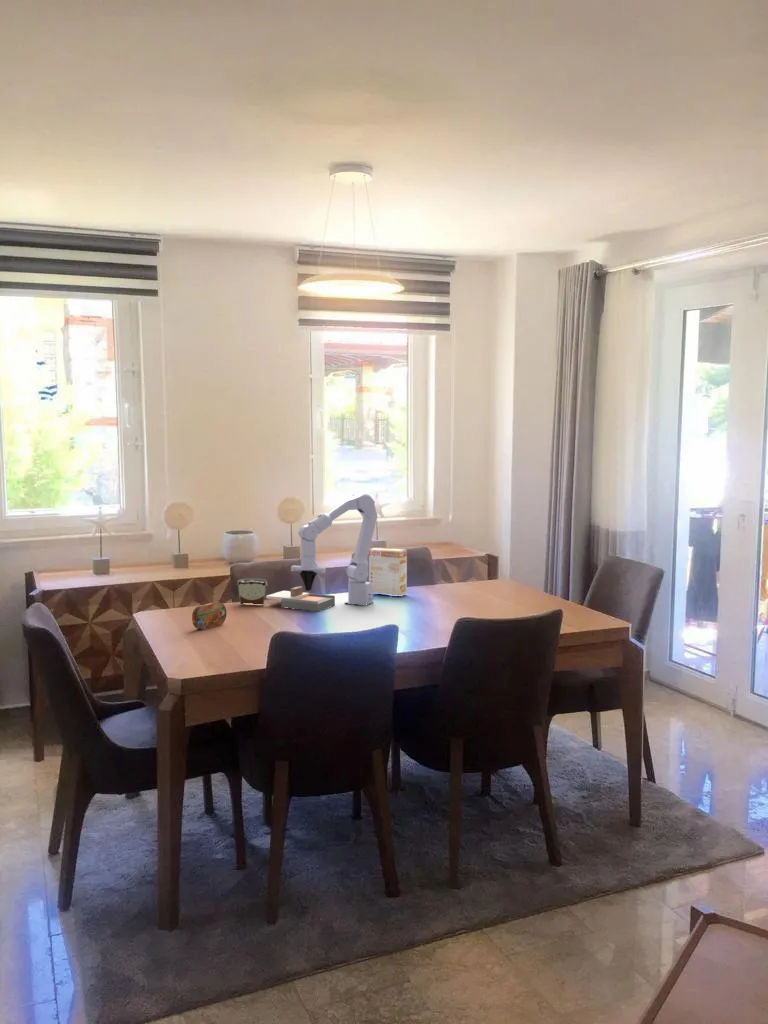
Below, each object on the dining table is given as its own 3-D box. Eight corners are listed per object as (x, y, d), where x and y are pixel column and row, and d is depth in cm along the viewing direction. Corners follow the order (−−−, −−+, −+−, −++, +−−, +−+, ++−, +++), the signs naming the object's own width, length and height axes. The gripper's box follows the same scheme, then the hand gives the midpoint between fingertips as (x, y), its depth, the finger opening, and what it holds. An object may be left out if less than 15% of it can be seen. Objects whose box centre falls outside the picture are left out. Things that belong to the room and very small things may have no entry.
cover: (309, 595, 346) (309, 585, 346) (292, 600, 334) (292, 590, 334) (283, 593, 351) (283, 583, 351) (266, 598, 339) (266, 588, 339)
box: (334, 605, 342) (334, 595, 342) (317, 611, 330) (317, 601, 329) (299, 601, 349) (299, 592, 349) (281, 608, 336) (281, 598, 336)
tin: (197, 631, 295) (196, 607, 294) (190, 630, 297) (190, 606, 296) (227, 624, 308) (227, 600, 307) (220, 622, 309) (220, 599, 309)
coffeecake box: (407, 595, 366) (407, 549, 364) (398, 597, 360) (399, 551, 358) (377, 591, 374) (377, 546, 372) (368, 594, 367) (368, 548, 366)
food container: (270, 603, 346) (270, 578, 345) (267, 606, 340) (267, 581, 339) (240, 602, 348) (240, 577, 347) (236, 605, 341) (236, 580, 341)
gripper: (286, 556, 337) (287, 590, 338) (319, 558, 331) (319, 593, 332) (296, 553, 343) (296, 587, 345) (328, 555, 337) (328, 590, 338)
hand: (308, 590), depth 339 cm, fingers closed
